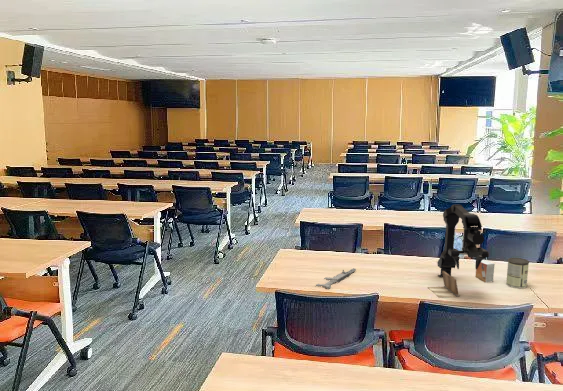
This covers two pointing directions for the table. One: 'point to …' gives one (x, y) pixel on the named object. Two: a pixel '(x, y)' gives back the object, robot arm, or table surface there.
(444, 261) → the robot arm
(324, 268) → the table surface
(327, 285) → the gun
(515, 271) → the coffee can
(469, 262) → the table surface
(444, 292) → the base leaf
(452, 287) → the leaf
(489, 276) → the small box
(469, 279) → the table surface
